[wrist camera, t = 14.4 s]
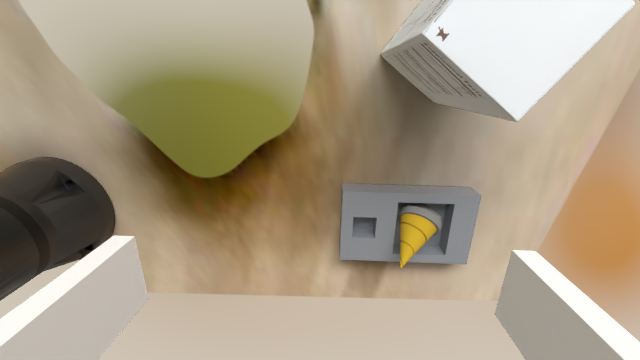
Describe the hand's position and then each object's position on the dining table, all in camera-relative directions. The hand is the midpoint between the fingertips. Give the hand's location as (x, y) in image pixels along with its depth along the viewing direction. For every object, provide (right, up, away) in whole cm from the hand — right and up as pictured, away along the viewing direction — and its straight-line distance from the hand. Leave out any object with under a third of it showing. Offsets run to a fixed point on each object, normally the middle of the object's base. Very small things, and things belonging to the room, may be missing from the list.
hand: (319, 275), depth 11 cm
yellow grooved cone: (+13, -2, +30) cm, 33 cm away
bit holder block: (+11, -2, +31) cm, 33 cm away
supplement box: (+13, +19, +23) cm, 33 cm away
